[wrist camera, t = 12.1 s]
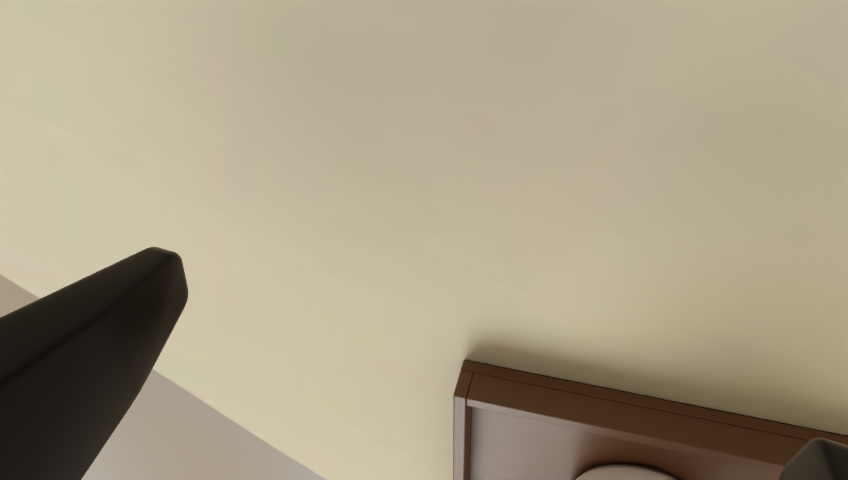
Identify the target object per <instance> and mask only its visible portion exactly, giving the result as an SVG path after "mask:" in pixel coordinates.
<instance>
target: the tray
mask: <svg viewBox="0 0 848 480" xmlns="http://www.w3.org/2000/svg"><path fill="white" fill-rule="evenodd" d="M815 438H824V439H828V440H831V441H835V442H838V443H841V444H845V445H847V446H848V437H846V436H841V435H836V434H831V433H826V432H821V431H816V430H811V429H806V428H801V427H796V426H791V425H786V424H781V423H776V422H771V421H766V420H761V419H756V418H751V417H746V416H741V415H736V414H731V413H726V412H721V411H716V410H711V409H706V408H701V407H696V406H691V405H686V404H681V403H676V402H671V401H666V400H661V399H656V398H651V397H646V396H641V395H636V394H631V393H626V392H621V391H616V390H611V389H606V388H601V387H596V386H591V385H586V384H581V383H576V382H571V381H566V380H561V379H556V378H551V377H546V376H541V375H536V374H531V373H526V372H520V371H515V370H510V369H505V368H500V367H495V366H490V365H485V364H480V363H475V362H470V361H465V360H464V361H463V364H462V368H461V372H460V375H459V378H458V382H457V385H456V389H455V392H454V423H453V480H576V479H577V478H578V477H579V476H581V475H582V474H583V473H584V472H585V471H587V470H589V469H591V468H593V467H596V466H601V465H607V464H634V465H640V466H645V467H650V468H653V469H657V470H659V471H662V472H665V473H667V474H669V475H671V476H673V477H675V478H677V479H678V480H779V479H780V475H781V472H782V470H783V468H784V467H785V466H786V464H787V463H788V462H789V461H790V460H791V459H792V458H793V457H794V456H795V455H796V454H797V453H798V452H799V451H800V450H801V449H802V448H803V447H804V446H805V445H806V444H807V443H808V442H809V441H811V440H812V439H815Z"/></svg>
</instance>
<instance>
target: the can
mask: <svg viewBox="0 0 848 480" xmlns="http://www.w3.org/2000/svg"><path fill="white" fill-rule="evenodd" d="M576 480H678V479H677V478H675V477H673V476H671V475H669V474H667V473H665V472H662V471H659V470H657V469H653V468H650V467H645V466H640V465H634V464H607V465H601V466H596V467H593V468H591V469H589V470H587V471H585V472H584V473H583V474H582V475H581V476H579V477H578V478H577V479H576Z"/></svg>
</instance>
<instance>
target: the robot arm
mask: <svg viewBox="0 0 848 480" xmlns="http://www.w3.org/2000/svg"><path fill="white" fill-rule="evenodd" d="M187 298H188V287H187V282H186V278H185V273H184V268H183V263H182V259H181V257H180V256H179V255H178V254H177V253H175V252H172V251H169V250H165V249H162V248H158V247H150V248H147V249H145V250H142V251H140V252H138V253H136V254H134V255H132V256H130V257H128V258H126V259H123V260H121V261H119V262H117V263H115V264H113V265H111V266H109V267H107V268H104V269H102V270H100V271H98V272H96V273H94V274H92V275H90V276H87V277H85V278H83V279H81V280H79V281H77V282H75V283H73V284H71V285H68V286H66V287H64V288H62V289H60V290H58V291H56V292H54V293H52V294H49V295H47V296H45V297H43V298H41V299H39V300H37V301H35V302H32V303H30V304H28V305H26V306H24V307H22V308H20V309H18V310H16V311H13V312H11V313H9V314H7V315H5V316H3V317H1V318H0V480H81V479H82V478H83V476H84V474H85V473H86V471H87V470H88V469H89V467H90V466H91V464H92V463H93V461H94V460H95V458H96V457H97V455H98V454H99V452H100V451H101V449H102V448H103V446H104V445H105V443H106V442H107V440H108V439H109V437H110V436H111V434H112V433H113V431H114V430H115V428H116V427H117V425H118V424H119V423H120V421H121V420H122V418H123V417H124V415H125V414H126V412H127V410H128V409H129V408H130V406H131V405H132V403H133V401H134V400H135V398H136V397H137V395H138V394H139V392H140V390H141V388H142V386H143V385H144V383H145V381H146V380H147V378H148V376H149V374H150V372H151V370H152V368H153V366H154V364H155V363H156V361H157V359H158V357H159V355H160V353H161V351H162V349H163V347H164V345H165V343H166V342H167V340H168V338H169V336H170V334H171V332H172V330H173V328H174V326H175V324H176V322H177V321H178V319H179V317H180V315H181V313H182V311H183V309H184V307H185V305H186V302H187ZM779 480H848V446H847V445H845V444H841V443H838V442H835V441H831V440H828V439H824V438H815V439H812V440H811V441H809V442H808V443H807V444H806V445H805V446H804V447H803V448H802V449H801V450H800V451H799V452H798V453H797V454H796V455H795V456H794V457H793V458H792V459H791V460H790V461H789V462H788V463H787V464H786V466H785V467H784V468H783V470H782V472H781V475H780V479H779Z"/></svg>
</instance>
